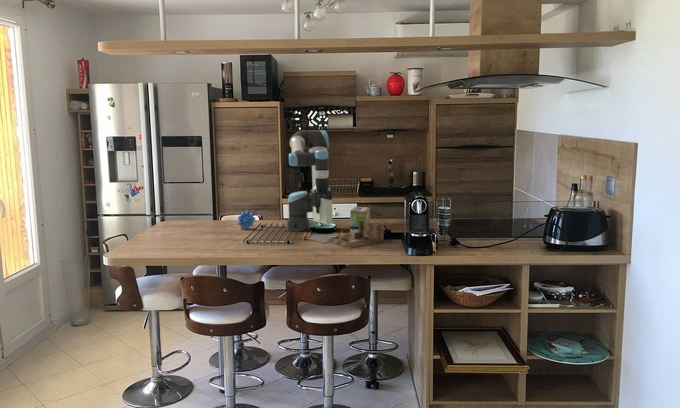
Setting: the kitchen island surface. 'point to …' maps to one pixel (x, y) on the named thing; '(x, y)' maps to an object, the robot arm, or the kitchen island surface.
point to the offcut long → (349, 240)
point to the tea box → (358, 217)
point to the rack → (365, 230)
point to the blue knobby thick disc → (246, 219)
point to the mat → (320, 238)
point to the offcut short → (347, 236)
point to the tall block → (324, 212)
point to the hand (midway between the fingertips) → (322, 218)
